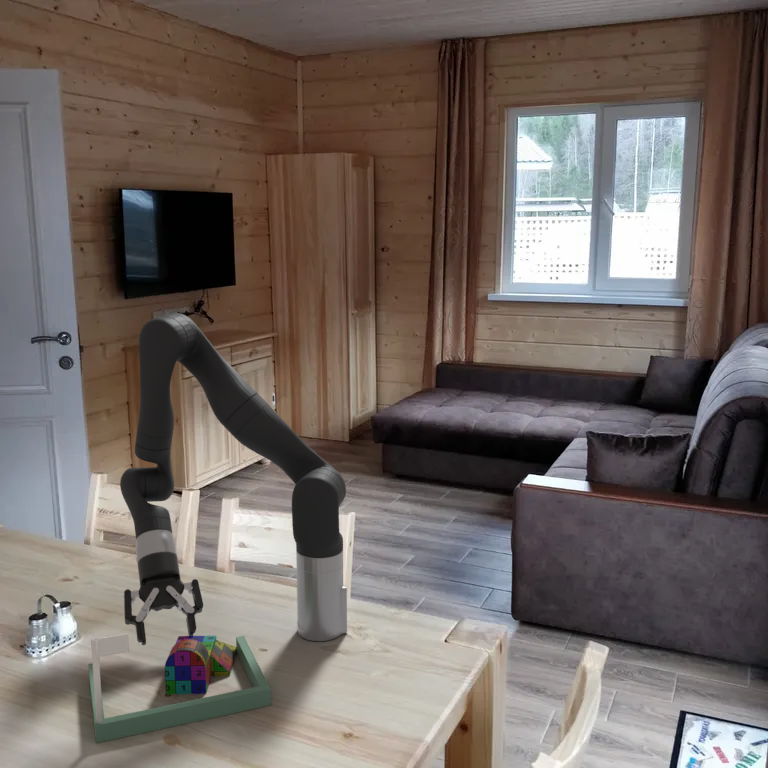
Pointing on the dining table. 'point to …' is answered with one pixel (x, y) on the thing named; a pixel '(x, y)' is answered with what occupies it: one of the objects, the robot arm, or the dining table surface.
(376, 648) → the dining table surface
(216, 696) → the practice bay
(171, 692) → the building blocks
